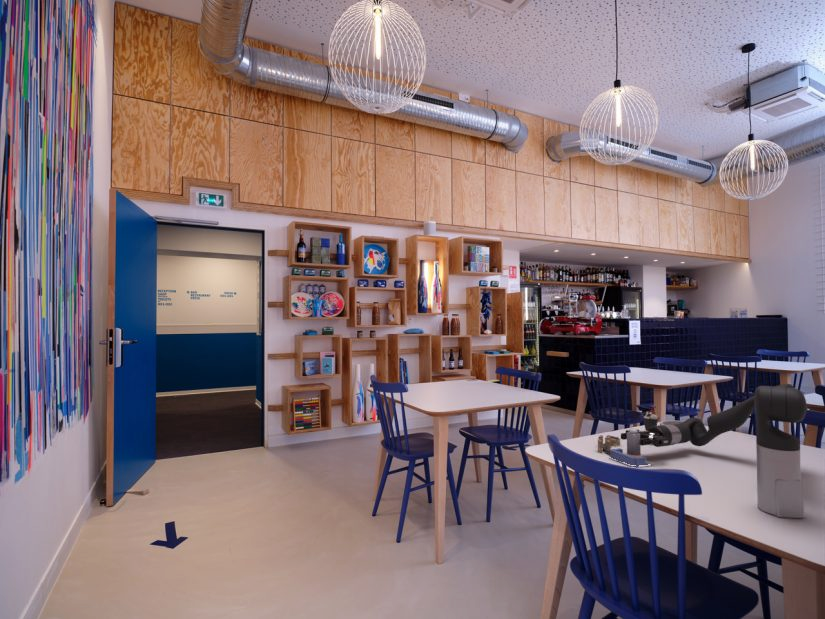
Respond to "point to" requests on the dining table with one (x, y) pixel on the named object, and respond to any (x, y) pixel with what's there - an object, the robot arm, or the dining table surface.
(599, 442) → the clip
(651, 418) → the sundae
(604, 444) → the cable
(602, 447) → the clip
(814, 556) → the dining table surface
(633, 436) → the grey piece
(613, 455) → the holder
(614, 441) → the tan wooden end block
